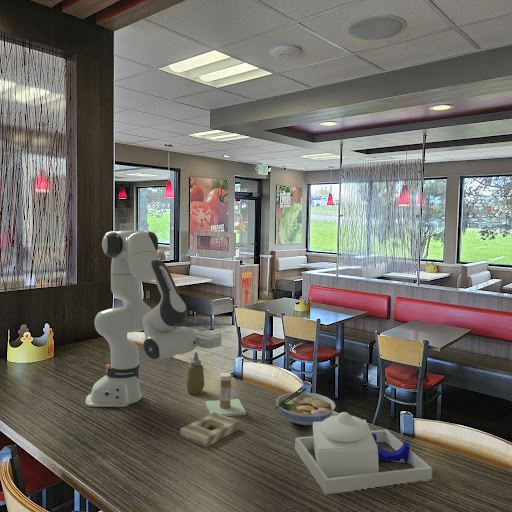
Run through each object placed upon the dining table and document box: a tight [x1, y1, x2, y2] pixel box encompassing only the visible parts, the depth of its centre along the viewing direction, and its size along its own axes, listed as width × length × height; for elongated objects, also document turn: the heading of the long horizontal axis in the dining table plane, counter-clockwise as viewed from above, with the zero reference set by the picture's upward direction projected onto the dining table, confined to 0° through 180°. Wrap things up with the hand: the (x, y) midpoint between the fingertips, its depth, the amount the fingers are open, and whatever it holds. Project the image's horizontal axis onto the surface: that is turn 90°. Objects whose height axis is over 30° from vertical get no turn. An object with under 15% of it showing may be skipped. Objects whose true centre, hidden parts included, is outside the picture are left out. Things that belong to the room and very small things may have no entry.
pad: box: [205, 398, 247, 417], centre depth 182 cm, size 14×14×1 cm
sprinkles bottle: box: [219, 372, 232, 409], centre depth 181 cm, size 5×5×14 cm
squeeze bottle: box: [185, 351, 205, 395], centre depth 198 cm, size 8×8×18 cm
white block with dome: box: [312, 411, 380, 478], centre depth 141 cm, size 18×18×16 cm
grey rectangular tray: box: [294, 429, 433, 495], centre depth 142 cm, size 34×26×4 cm
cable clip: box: [372, 433, 411, 463], centre depth 145 cm, size 12×4×6 cm, turn 79°
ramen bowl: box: [274, 386, 336, 426], centre depth 172 cm, size 25×23×8 cm
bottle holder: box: [179, 412, 240, 448], centre depth 160 cm, size 18×12×3 cm, turn 144°
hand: (210, 333), depth 172 cm, fingers open, 8 cm apart
